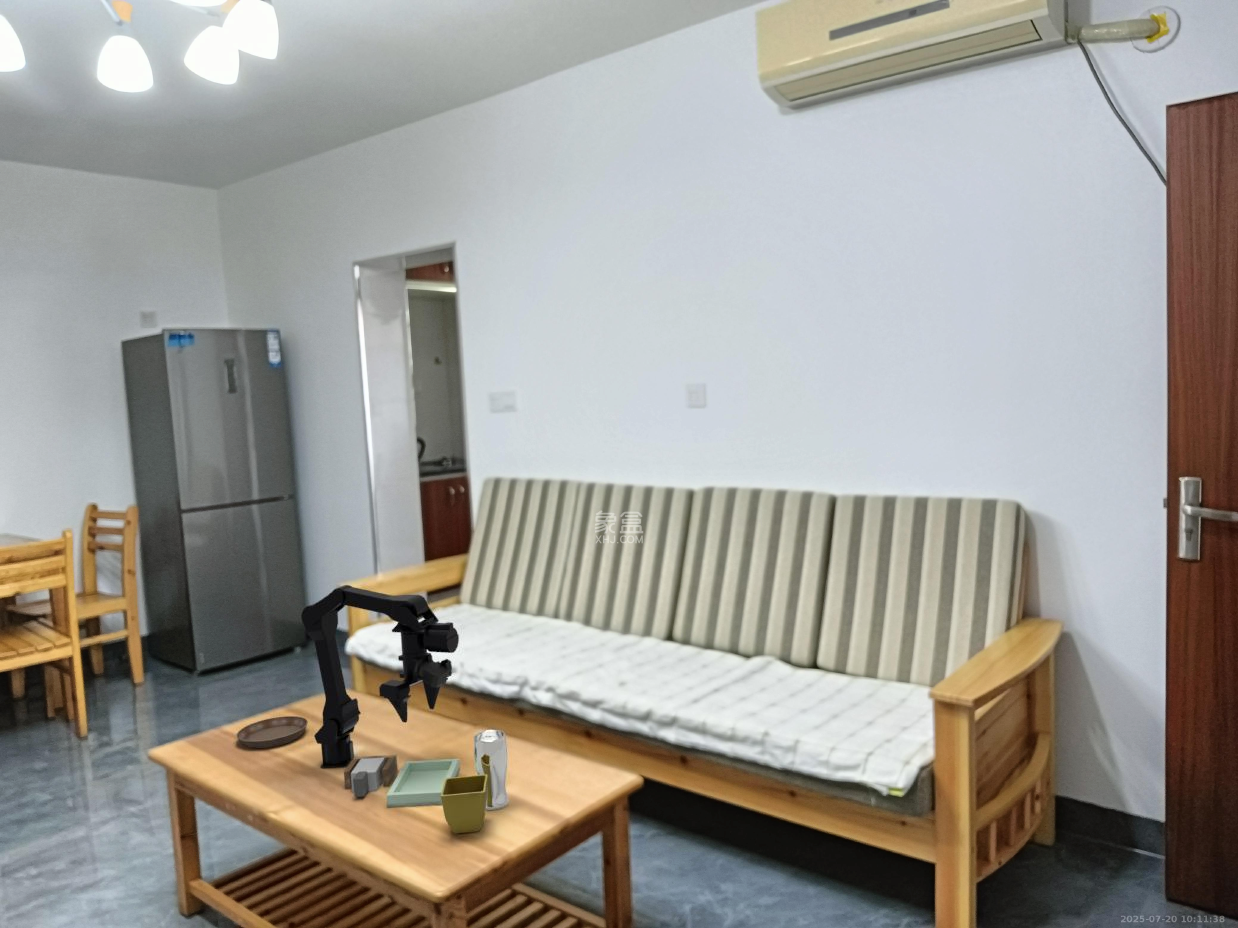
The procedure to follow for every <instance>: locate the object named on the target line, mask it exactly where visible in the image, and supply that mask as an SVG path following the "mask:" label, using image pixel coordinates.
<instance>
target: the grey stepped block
mask: <svg viewBox="0 0 1238 928" xmlns="http://www.w3.org/2000/svg"><path fill="white" fill-rule="evenodd" d="M384 766H385V758H368V759H361V760H360V761H359V763H358V764H357V765H356V767H355V768H354V770H353V771H352V772H351V782H352V787H351V792H352V793H353V794H354V798H358V797H359V798H361V797H365V795H366V793H367V792H377V791H378V790H379V788H380V786H381V785H382V784H383V774H382V769H383V768H384Z"/></svg>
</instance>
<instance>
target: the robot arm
mask: <svg viewBox="0 0 1238 928" xmlns="http://www.w3.org/2000/svg"><path fill="white" fill-rule="evenodd" d="M345 606H347V607H351V608H355V609H356V608H357V609H360V610H361V609H362V610H365V611H370V612H375V613H380V614H383V615H386V616H387V617H388V618H389V619H390V620H392V621H394V622H397V624H396V625H395V626H394V627H393V628H392V629H391V632H392V633H400V641H401V654H400V655H398V657H397V658H398V662H399V661H401V662H402V672H400V673H399V674H398V675H399V678H400V679H403V680H399V679H390V680H388V681H385V682H383V683H381V684H380V686H379V688H378V689H379V690H378V691H379V697H383V698H384V699H387V700H388V702H389V703H390V704H391V705H392V707H393V708H394V710H395V711H396V713H397V715H398V717H399V719H400V720H401V721H402V723H407V722H408V701H409V700H410V698H411V697H412V695H410V692H411V687H413V686H415V685H417V684H420V683H422V684H423V689H424V693H425V696H426V701H427V705H428V708H429V710H434V709H435V706H436V702H437V699H438V695H439V692H440V689H441V686H442V685H444V684H446V683H447V681H448V680H449V677H451V676H452V674H453V670H452V669H453V666H452V661H451V660H450V659H448V658H445V659H443V660H441V661H434V660H433V655H432V653H443V654H444V653H446V654H447V653H450V654H452V653H455V652H456V651H457V648H458V646H459V641H460V638H459V637H460V635H459V634H458V631H457V629H456V628H455V627H454V623H453V622H448V621H447V622H439V618H437V616H436V614H435V613H434V612H433V610H432V609H431V608H430V606H429V604H428V602H427V600H426V598H425V597H424V595H423V596H422V595H420V594H398V595H393V594H387V593H382V592H378V591H377V592H376V591H372V590H368V589H363V588H359V587H355V586H351V585H349V584H344V585H342V586H339V587H337V588H334V589H333V590H332V591H330V592H329V594H328V595H326V596H324V597H323V598H322V599H320V600H318V601H317V602H315V603H314V602H313V603H312V604H309V605H307V606H305V608H303V610H302V612H301V614H300V620H301V623H302V625H303V628H304V631H305V633H306V634H307V635H308V637H310V639H311V640H312V641H313V643H314V647H315V649H314V650H315V653H316V656H317V662H318V668H319V672H320V677H321V682H322V688H323V693H324V697H325V701H324V705H323V710H322V712H321V713H322V714H321V715H322V725H321V727H320V728H319V730H317V732H316V733H315V734H314V739H315V741H316V744H317V745H318V744H319V745H320V746H321V755H322V756H321V758H322V763H321V764H320V768H322V769H324V768H339V767H340V768H342V767H343V768H344V767H348V765H349V764H350V763H351V761H352V760H353V758H354V757H355V751H354V741H353V740H352V738H351V733H353V732H354V731H355V727H356V725H357V724H358V723H359V721H360V720H359V719H360V715H361V714H362V713H361V711H360V709H359V701H358V698H351V697H350V695H349V694H348V693H347V688H346V683H345V680H344V679H345V678H344V674H343V669H342V664H341V660H340V655H339V649H338V645H337V640H336V632H337V630H338V626H339V614H338V613H339V612H340V611H341V610H343V609H344V608H345ZM422 619H423V620H422ZM420 620H421V621H420Z"/></svg>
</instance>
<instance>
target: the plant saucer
mask: <svg viewBox="0 0 1238 928" xmlns="http://www.w3.org/2000/svg"><path fill="white" fill-rule="evenodd" d="M308 722H309V721H308V719H307V718H305V717H302V716H296V715H295V716H293V715H287V716H286V715H285V716H278V717H277V716H276V717H272V718H266V719H263V720H259V721H255V722H253V723H250V724H248V725H245V726H244V727H243V728H241V729H239V730H238V732H236V738H237V739H238V741H239V742H241V744H243V745H245V746H246V747H248V748H252V749H266V748H267V749H269V748H274V747H280V746H283V745H285V744H288V743H291V742H294V741H295V740H297V739H298V738H299V737H301V735H303V733H304V732H305V730H306V728H307V726H308V724H309V723H308Z"/></svg>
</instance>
